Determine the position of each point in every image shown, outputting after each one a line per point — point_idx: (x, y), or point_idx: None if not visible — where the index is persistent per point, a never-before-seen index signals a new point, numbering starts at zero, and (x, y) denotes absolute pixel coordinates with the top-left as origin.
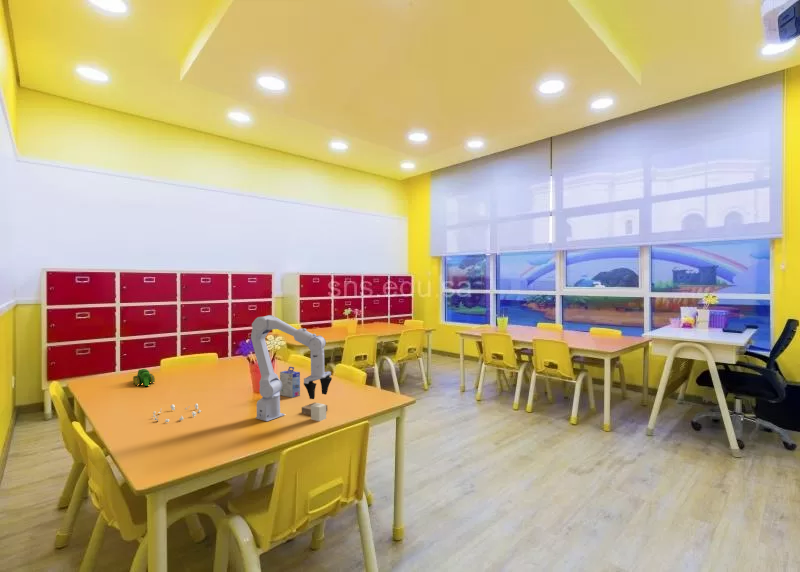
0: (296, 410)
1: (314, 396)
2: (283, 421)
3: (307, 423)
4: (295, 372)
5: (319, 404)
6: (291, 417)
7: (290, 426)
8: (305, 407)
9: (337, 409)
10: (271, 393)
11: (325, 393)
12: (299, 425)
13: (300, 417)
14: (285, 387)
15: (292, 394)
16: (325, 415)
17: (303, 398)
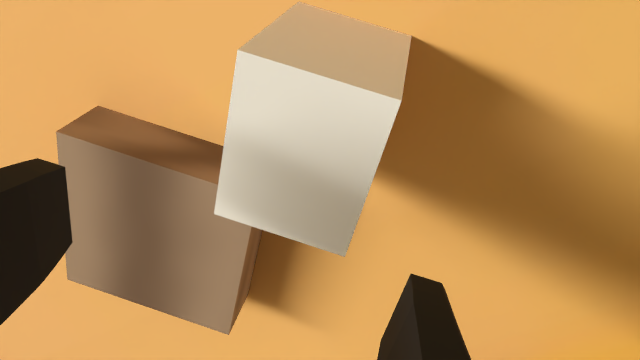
0: (215, 344)
1: (417, 307)
2: (476, 350)
3: (500, 141)
4: None
5: (267, 159)
6: (370, 328)
7: (607, 261)
8: (221, 304)
9: (5, 18)
10: None
11: (48, 183)
12: (572, 194)
13: (349, 266)
14: None
15: None
16: (300, 14)
17: None
